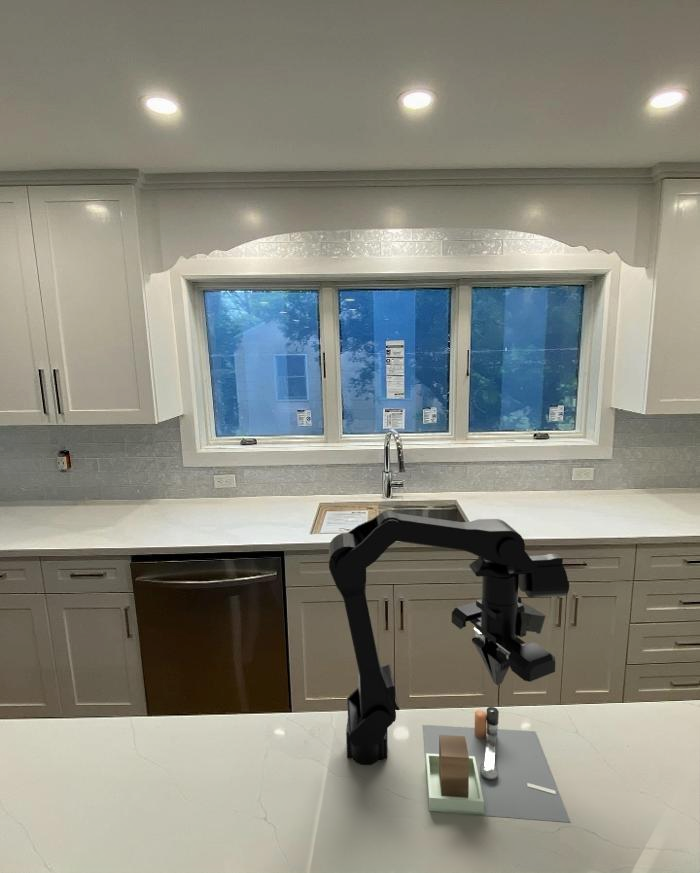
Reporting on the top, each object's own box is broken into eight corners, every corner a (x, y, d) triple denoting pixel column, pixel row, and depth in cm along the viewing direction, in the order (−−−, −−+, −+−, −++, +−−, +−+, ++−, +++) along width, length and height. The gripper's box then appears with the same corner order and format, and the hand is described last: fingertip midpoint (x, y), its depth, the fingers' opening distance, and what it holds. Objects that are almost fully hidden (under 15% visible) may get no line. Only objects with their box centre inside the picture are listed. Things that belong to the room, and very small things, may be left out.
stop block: (468, 799, 68) (468, 757, 67) (441, 797, 68) (441, 756, 67) (464, 775, 72) (465, 736, 71) (439, 773, 72) (439, 734, 71)
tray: (429, 810, 67) (429, 797, 66) (426, 765, 74) (426, 753, 74) (483, 814, 66) (483, 801, 65) (474, 768, 73) (474, 756, 73)
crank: (497, 782, 70) (498, 755, 70) (479, 777, 71) (479, 750, 71) (500, 732, 80) (501, 708, 79) (484, 728, 81) (484, 705, 80)
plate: (428, 818, 67) (428, 787, 66) (422, 730, 83) (422, 705, 82) (570, 829, 64) (571, 797, 64) (535, 737, 81) (536, 711, 80)
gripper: (583, 612, 69) (578, 704, 72) (497, 566, 86) (496, 641, 88) (528, 630, 65) (525, 727, 67) (450, 578, 82) (449, 657, 84)
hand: (497, 683), depth 77 cm, fingers closed
